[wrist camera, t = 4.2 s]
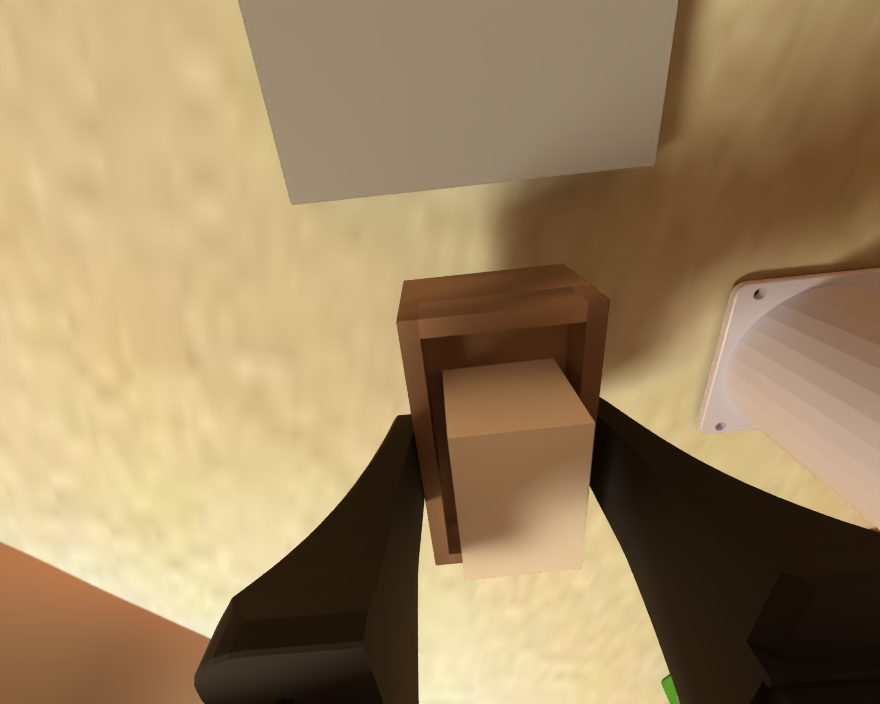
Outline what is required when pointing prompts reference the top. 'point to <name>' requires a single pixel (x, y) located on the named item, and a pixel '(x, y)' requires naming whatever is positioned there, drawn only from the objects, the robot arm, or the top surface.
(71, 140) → the top surface
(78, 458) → the top surface
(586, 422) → the beige block
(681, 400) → the top surface
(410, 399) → the brown wooden tray
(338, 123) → the dock
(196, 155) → the top surface
